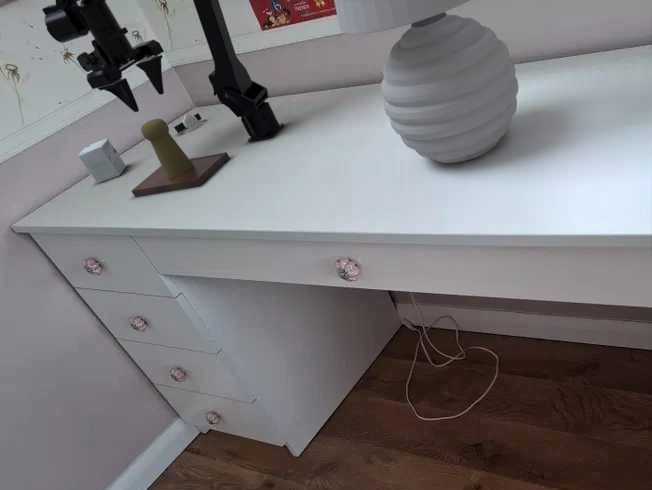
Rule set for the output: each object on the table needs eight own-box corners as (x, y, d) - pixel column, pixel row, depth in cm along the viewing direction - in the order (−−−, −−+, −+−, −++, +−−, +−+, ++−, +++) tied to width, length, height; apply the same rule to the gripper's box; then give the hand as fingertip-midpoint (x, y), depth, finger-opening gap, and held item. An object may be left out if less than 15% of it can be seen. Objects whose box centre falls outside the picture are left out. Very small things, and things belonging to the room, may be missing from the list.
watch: (183, 135, 165) (175, 121, 162) (174, 135, 167) (166, 121, 165) (207, 121, 168) (199, 107, 166) (197, 121, 171) (190, 107, 169)
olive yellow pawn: (184, 175, 135) (153, 125, 128) (161, 180, 137) (130, 131, 130) (198, 161, 139) (169, 112, 132) (176, 166, 141) (146, 118, 134)
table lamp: (366, 177, 111) (252, -95, 86) (463, 109, 122) (387, -149, 97) (471, 196, 94) (369, -133, 69) (572, 115, 105) (515, -193, 80)
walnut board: (230, 158, 140) (226, 151, 139) (200, 186, 132) (195, 179, 131) (167, 169, 147) (163, 163, 146) (135, 197, 138) (130, 190, 137)
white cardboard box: (120, 175, 154) (100, 146, 149) (96, 184, 154) (76, 155, 149) (126, 165, 158) (108, 137, 154) (104, 174, 159) (84, 146, 154)
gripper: (106, 22, 142) (147, 92, 152) (46, 53, 130) (96, 127, 139) (143, 10, 138) (184, 83, 148) (85, 41, 125) (134, 118, 135)
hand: (149, 102), depth 143 cm, fingers open, 9 cm apart
